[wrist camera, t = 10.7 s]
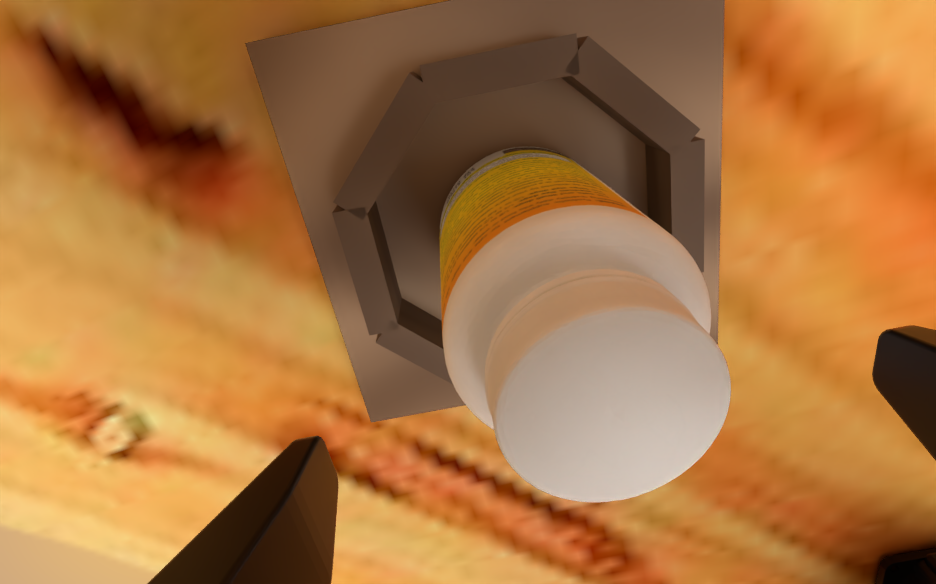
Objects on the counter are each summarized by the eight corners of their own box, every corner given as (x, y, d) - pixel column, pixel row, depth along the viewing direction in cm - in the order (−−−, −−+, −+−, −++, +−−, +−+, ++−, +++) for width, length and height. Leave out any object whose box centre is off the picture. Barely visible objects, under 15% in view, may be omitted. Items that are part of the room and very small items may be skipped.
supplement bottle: (405, 234, 18) (371, 434, 8) (518, 105, 16) (633, 172, 7) (521, 327, 19) (601, 579, 10) (633, 219, 18) (850, 397, 8)
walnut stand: (699, 339, 22) (744, 387, 18) (375, 399, 22) (364, 457, 19) (701, -48, 16) (766, -75, 13) (261, 44, 16) (218, 41, 13)
